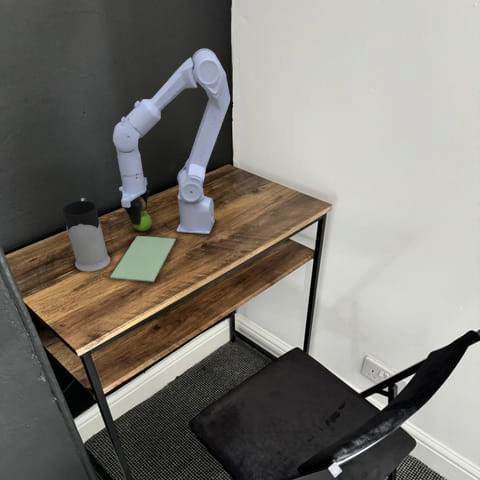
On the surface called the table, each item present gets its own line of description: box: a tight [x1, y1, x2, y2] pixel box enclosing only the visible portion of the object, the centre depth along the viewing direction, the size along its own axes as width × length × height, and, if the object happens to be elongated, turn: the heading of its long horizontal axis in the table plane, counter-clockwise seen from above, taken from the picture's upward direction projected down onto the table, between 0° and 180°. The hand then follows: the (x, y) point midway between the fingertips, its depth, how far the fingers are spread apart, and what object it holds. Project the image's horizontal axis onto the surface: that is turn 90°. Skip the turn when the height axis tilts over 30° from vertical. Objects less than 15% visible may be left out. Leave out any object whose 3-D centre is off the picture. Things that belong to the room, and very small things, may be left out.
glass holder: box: [62, 197, 111, 272], centre depth 115 cm, size 9×14×15 cm, turn 11°
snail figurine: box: [132, 196, 153, 232], centre depth 126 cm, size 5×6×12 cm
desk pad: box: [109, 235, 177, 283], centre depth 119 cm, size 11×20×1 cm, turn 171°
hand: (139, 219), depth 128 cm, fingers closed on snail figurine, 4 cm apart
